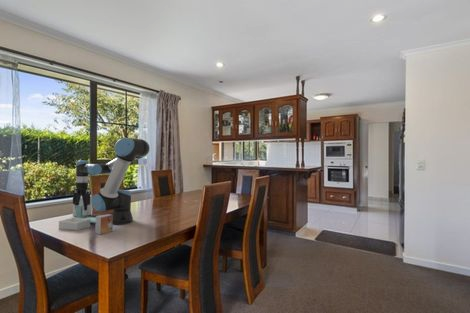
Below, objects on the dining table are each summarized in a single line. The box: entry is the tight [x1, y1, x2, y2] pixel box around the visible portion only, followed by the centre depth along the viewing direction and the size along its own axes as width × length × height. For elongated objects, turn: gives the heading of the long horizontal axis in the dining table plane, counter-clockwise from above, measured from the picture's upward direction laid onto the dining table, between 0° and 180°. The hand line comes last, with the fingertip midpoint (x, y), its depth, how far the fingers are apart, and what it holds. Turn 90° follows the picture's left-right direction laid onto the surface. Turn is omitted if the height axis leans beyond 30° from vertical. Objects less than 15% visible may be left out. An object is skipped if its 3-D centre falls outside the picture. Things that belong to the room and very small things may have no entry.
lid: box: [75, 205, 96, 223], centre depth 172 cm, size 19×11×11 cm, turn 77°
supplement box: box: [72, 195, 93, 217], centre depth 190 cm, size 9×9×15 cm
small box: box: [94, 213, 114, 235], centre depth 151 cm, size 8×6×10 cm
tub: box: [58, 216, 91, 232], centre depth 158 cm, size 14×10×5 cm
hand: (80, 214), depth 174 cm, fingers open, 5 cm apart
